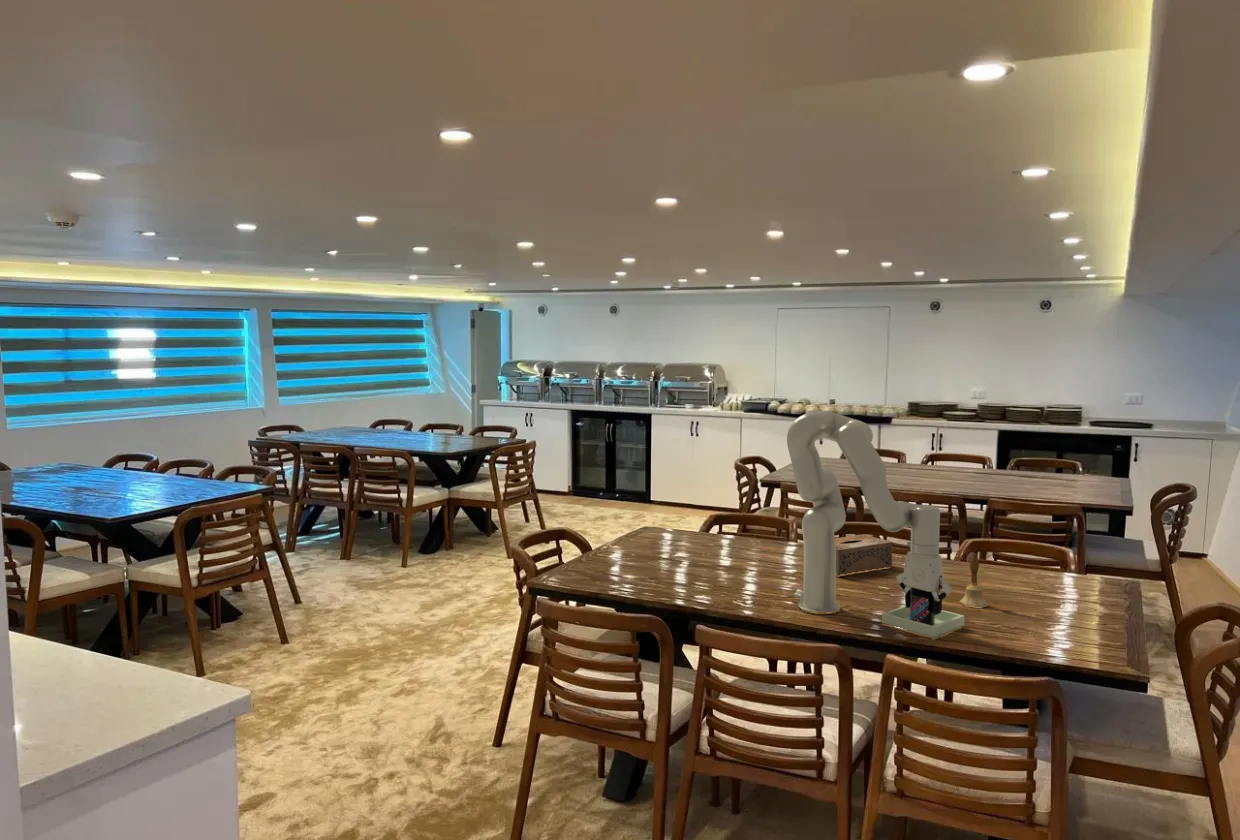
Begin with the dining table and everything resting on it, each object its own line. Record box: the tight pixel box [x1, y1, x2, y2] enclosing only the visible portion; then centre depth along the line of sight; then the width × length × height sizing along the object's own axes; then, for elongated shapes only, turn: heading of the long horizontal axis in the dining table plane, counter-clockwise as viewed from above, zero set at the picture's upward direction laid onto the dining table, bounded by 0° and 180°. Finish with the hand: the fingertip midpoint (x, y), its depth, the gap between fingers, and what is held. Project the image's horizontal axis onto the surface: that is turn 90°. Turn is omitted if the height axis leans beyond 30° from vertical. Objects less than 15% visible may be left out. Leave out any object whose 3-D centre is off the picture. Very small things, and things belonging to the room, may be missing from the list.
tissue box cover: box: [835, 534, 893, 575], centre depth 294 cm, size 26×14×10 cm, turn 118°
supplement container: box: [910, 588, 935, 626], centre depth 230 cm, size 7×7×10 cm
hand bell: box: [959, 553, 989, 607], centre depth 251 cm, size 8×8×16 cm
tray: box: [881, 604, 965, 639], centre depth 231 cm, size 16×16×4 cm
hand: (923, 609), depth 230 cm, fingers open, 7 cm apart
